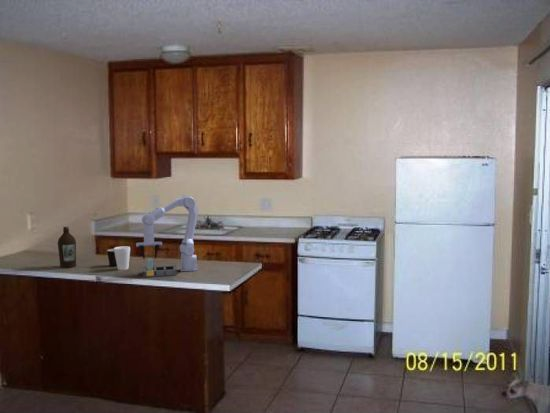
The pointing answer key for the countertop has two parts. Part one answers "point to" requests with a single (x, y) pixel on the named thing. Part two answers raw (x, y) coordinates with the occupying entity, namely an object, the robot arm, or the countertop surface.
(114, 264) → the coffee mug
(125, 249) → the foam cup
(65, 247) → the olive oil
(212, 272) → the countertop surface
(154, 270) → the rack
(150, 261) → the panel
